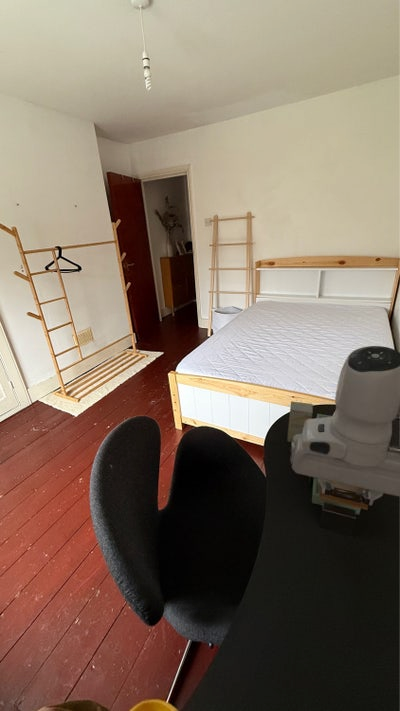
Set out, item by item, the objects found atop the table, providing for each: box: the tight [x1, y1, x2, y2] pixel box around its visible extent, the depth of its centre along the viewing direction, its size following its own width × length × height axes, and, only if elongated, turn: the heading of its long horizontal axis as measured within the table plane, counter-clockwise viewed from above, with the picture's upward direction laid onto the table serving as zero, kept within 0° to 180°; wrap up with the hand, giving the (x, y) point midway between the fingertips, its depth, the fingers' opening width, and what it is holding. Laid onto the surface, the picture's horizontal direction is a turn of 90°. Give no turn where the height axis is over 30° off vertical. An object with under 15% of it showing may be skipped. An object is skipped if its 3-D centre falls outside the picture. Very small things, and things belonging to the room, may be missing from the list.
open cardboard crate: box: [319, 480, 369, 511], centre depth 63 cm, size 17×9×6 cm, turn 159°
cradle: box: [307, 476, 357, 537], centre depth 68 cm, size 12×12×7 cm
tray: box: [311, 413, 362, 516], centre depth 82 cm, size 32×10×3 cm, turn 159°
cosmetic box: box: [286, 400, 314, 443], centre depth 88 cm, size 6×4×12 cm
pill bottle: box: [289, 434, 300, 464], centre depth 81 cm, size 5×5×8 cm
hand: (345, 496), depth 56 cm, fingers closed on open cardboard crate, 6 cm apart
